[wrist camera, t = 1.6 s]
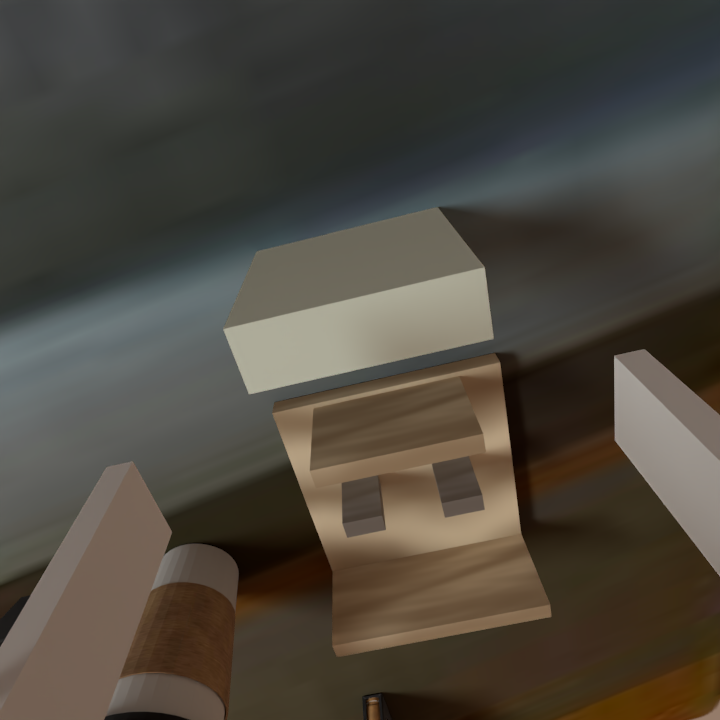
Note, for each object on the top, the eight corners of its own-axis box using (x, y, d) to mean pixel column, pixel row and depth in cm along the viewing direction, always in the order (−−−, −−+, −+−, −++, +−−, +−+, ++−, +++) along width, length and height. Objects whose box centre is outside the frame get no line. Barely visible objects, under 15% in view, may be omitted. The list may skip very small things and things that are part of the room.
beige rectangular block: (256, 251, 29) (223, 329, 20) (437, 206, 28) (484, 267, 19) (273, 301, 30) (249, 394, 22) (446, 259, 30) (493, 338, 21)
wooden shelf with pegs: (274, 402, 33) (261, 476, 27) (494, 352, 32) (532, 418, 26) (337, 571, 41) (338, 659, 35) (518, 535, 40) (551, 619, 34)
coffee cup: (246, 525, 38) (200, 763, 25) (263, 603, 42) (231, 842, 29) (129, 534, 38) (21, 777, 25) (157, 611, 42) (77, 855, 29)
